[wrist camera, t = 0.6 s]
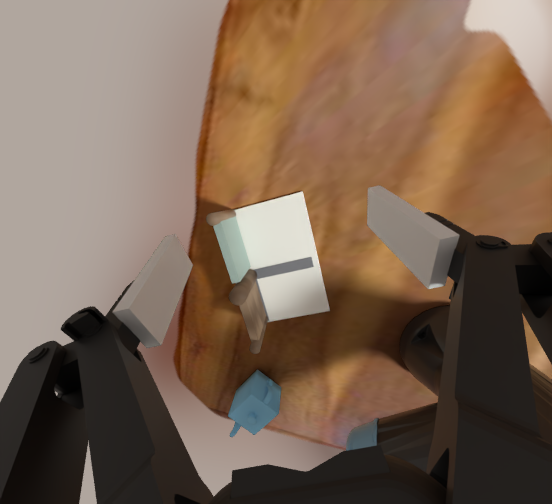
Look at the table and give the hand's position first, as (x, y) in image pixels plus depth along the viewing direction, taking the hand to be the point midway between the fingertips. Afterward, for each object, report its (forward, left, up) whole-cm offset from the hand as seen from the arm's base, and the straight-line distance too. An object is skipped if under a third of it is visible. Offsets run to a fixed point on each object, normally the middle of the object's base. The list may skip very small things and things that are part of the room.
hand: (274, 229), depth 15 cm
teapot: (-33, +15, -21) cm, 42 cm away
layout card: (-8, +5, -21) cm, 23 cm away
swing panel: (-3, +9, -20) cm, 22 cm away
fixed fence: (-13, +9, -21) cm, 26 cm away
